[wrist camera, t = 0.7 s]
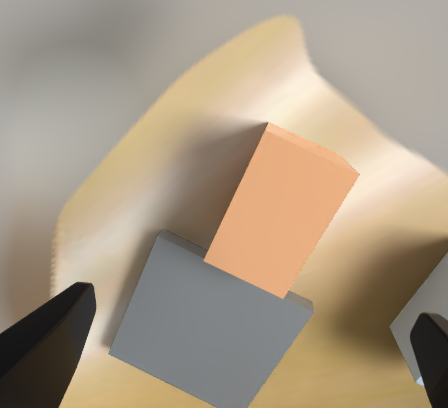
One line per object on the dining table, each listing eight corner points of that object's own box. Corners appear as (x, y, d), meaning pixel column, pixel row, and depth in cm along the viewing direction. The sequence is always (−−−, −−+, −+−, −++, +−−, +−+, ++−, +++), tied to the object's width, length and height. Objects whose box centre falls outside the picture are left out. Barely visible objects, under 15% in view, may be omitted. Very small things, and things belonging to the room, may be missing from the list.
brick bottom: (341, 155, 20) (359, 174, 16) (282, 257, 23) (283, 299, 19) (268, 121, 20) (265, 130, 16) (218, 227, 23) (203, 260, 19)
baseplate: (312, 302, 24) (313, 312, 23) (241, 405, 28) (239, 418, 27) (163, 229, 24) (157, 235, 23) (115, 343, 28) (108, 353, 27)
